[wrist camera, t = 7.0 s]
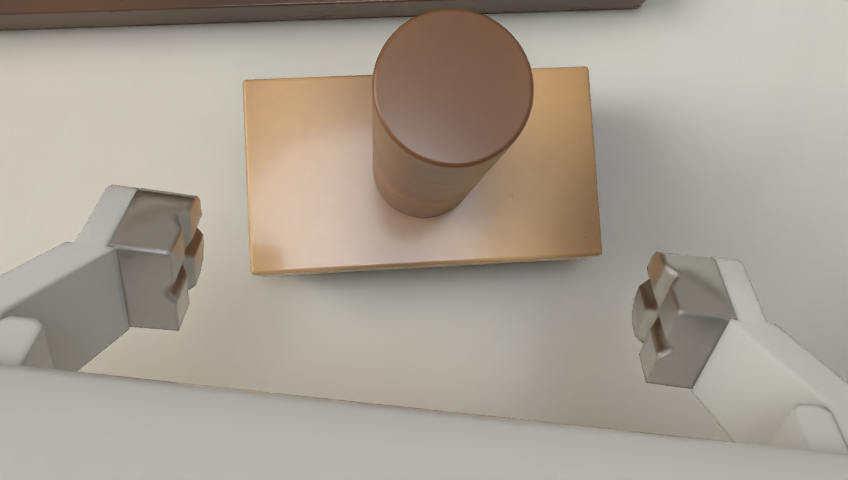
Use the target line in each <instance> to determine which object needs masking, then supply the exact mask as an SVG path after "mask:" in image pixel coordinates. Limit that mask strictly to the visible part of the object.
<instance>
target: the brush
mask: <svg viewBox="0 0 848 480" xmlns="http://www.w3.org/2000/svg"><path fill="white" fill-rule="evenodd" d="M243 103H244V127H245V151H246V174H247V198H248V221H249V245H250V268H251V273H252V274H253V275H257V276H262V277H266V276H284V275H302V274H320V273H338V272H356V271H373V270H391V269H409V268H427V267H445V266H463V265H480V264H498V263H516V262H534V261H552V260H570V259H585V258H590V257H595V256H599V255H601V254H602V244H601V231H600V218H599V204H598V191H597V178H596V164H595V151H594V138H593V124H592V111H591V98H590V84H589V71H588V68H587V67H560V68H534V69H531V67H530V63H529V61H528V59H527V56H526V54H525V52H524V51H523V49H522V47H521V45H520V44H519V43H518V41H517V40H516V39H515V38H514V36H513V35H512V34H511V33H510V32H509V31H508V30H507V29H505V28H504V27H503V26H502V25H500V24H499V23H498V22H496V21H494V20H492V19H491V18H489V17H487V16H484V15H482V14H480V13H477V12H473V11H470V10H464V9H438V10H434V11H430V12H426V13H424V14H421V15H418V16H416V17H415V18H413V19H411V20H409V21H408V22H406V23H405V24H403V25H402V26H401V27H399V28H398V29H397V30H396V31H395V32H394V33H393V34H392V35H391V37H390V38H389V39H388V40H387V42H386V43H385V45H384V46H383V48H382V50H381V52H380V54H379V56H378V58H377V61H376V64H375V68H374V72H373V75H357V76H331V77H306V78H281V79H255V80H245V81H244V82H243Z"/></svg>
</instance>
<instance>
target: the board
mask: <svg viewBox="0 0 848 480" xmlns="http://www.w3.org/2000/svg"><path fill="white" fill-rule="evenodd" d="M644 2H645V0H0V30H10V29H39V28H68V27H97V26H126V25H155V24H184V23H213V22H242V21H271V20H300V19H329V18H358V17H387V16H416V15H421V14H424V13H426V12H430V11H434V10H438V9H464V10H470V11H473V12H477V13H503V12H532V11H561V10H590V9H619V8H639V7H640V6H641V5H642V4H643V3H644Z"/></svg>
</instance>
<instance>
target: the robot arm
mask: <svg viewBox="0 0 848 480" xmlns="http://www.w3.org/2000/svg"><path fill="white" fill-rule="evenodd" d="M201 215H202V213H201V204H200V199H199V198H198V197H197V196H193V195H186V194H179V193H172V192H165V191H158V190H151V189H144V188H141V189H139V188H134V187H127V186H120V185H111V186H109V187H107V188H106V189H105V191H104V192H103V194H102V196H101V198H100V199H99V201H98V203H97V204H96V206H95V208H94V210H93V211H92V213H91V215H90V216H89V218H88V220H87V222H86V223H85V225H84V227H83V228H82V230H81V232H80V234H79V235H78V237H77V239H76V241H75V242H74V243H72V242H65V243H63V244H61V245H59V246H57V247H55V248H53V249H51V250H49V251H47V252H45V253H44V254H42V255H40V256H38V257H36V258H34V259H32V260H30V261H28V262H26V263H24V264H22V265H20V266H19V267H17V268H15V269H13V270H11V271H9V272H7V273H5V274H3V275H1V276H0V480H848V383H847V382H846V381H845V380H844V379H842V378H841V377H840V376H839V375H837V374H836V373H835V372H834V371H832V370H831V369H830V368H829V367H828V366H826V365H825V364H824V363H823V362H821V361H820V360H819V359H818V358H817V357H815V356H814V355H813V354H812V353H810V352H809V351H808V350H807V349H805V348H804V347H803V346H802V345H801V344H799V343H798V342H797V341H796V340H794V339H793V338H792V337H791V336H789V335H788V334H787V333H786V332H785V331H783V330H782V329H781V328H780V327H778V326H777V325H776V324H768V322H767V320H766V317H765V315H764V313H763V310H762V308H761V306H760V303H759V301H758V299H757V296H756V294H755V291H754V289H753V287H752V284H751V282H750V280H749V277H748V275H747V273H746V270H745V268H744V265H743V264H742V263H741V262H740V261H739V260H734V259H724V258H714V257H711V258H707V257H698V256H689V255H681V254H672V253H663V252H656V253H655V254H654V255H653V256H652V258H651V260H650V262H649V264H648V267H647V270H648V274H649V278H650V279H649V280H647V281H646V282H644V283H643V284H641V285H640V286H639V288H638V291H637V293H636V296H635V299H634V304H633V311H632V324H633V329H634V334H635V336H636V337H637V338H638V339H639V340H640V341H641V342H642V343H643V347H642V349H641V351H640V353H639V356H640V360H641V364H642V369H643V373H644V377H645V381H646V383H651V384H659V385H666V386H673V387H681V388H688V389H692V390H691V391H692V393H693V394H694V395H695V396H696V397H697V399H698V400H699V401H700V402H701V403H702V405H703V406H704V407H705V408H706V409H707V411H708V412H709V413H710V414H711V415H712V416H713V418H714V419H715V420H716V421H717V422H718V424H719V425H720V426H721V427H722V428H723V430H724V431H725V432H726V433H727V434H728V436H729V437H730V438H731V439H732V440H733V442H729V441H719V440H710V439H700V438H690V437H681V436H671V435H662V434H652V433H643V432H634V431H625V430H615V429H606V428H597V427H588V426H579V425H569V424H560V423H551V422H542V421H533V420H523V419H514V418H505V417H496V416H486V415H477V414H467V413H458V412H449V411H439V410H430V409H420V408H411V407H401V406H392V405H383V404H373V403H364V402H354V401H345V400H335V399H326V398H317V397H307V396H298V395H289V394H280V393H270V392H261V391H252V390H242V389H233V388H224V387H215V386H205V385H196V384H187V383H177V382H168V381H159V380H150V379H140V378H131V377H122V376H112V375H103V374H94V373H85V372H77V371H78V370H79V369H81V368H82V367H83V366H84V365H86V364H87V363H88V362H89V361H91V360H92V359H93V358H94V357H96V356H97V355H98V354H99V353H101V352H102V351H103V350H104V349H105V348H107V347H108V346H109V345H110V344H112V343H113V342H114V341H115V340H117V339H118V338H119V337H120V336H122V335H123V334H124V333H125V332H127V331H128V330H129V327H139V328H151V329H163V330H175V331H179V329H180V327H181V324H182V321H183V319H184V316H185V314H186V311H187V308H188V306H189V294H188V290H190V289H191V288H193V287H194V286H196V284H197V281H198V278H199V275H200V272H201V266H202V261H203V249H204V242H203V234H202V233H201V232H200V230H199V229H198V228H197V225H198V223H199V220H200V218H201Z"/></svg>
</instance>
